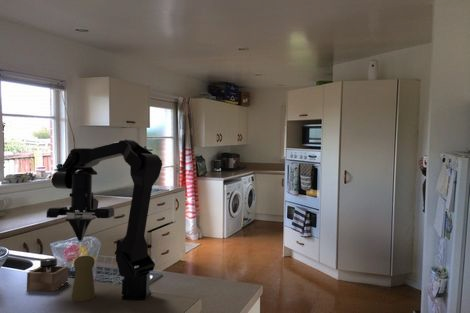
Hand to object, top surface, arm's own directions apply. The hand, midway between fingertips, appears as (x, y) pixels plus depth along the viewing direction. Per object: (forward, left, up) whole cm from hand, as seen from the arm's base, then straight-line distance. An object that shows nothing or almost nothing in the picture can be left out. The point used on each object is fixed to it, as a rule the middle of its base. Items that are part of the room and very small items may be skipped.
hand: (80, 240), depth 113 cm
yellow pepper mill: (-6, +12, -13) cm, 19 cm away
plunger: (+8, +4, -13) cm, 15 cm away
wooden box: (+8, +4, -13) cm, 15 cm away
